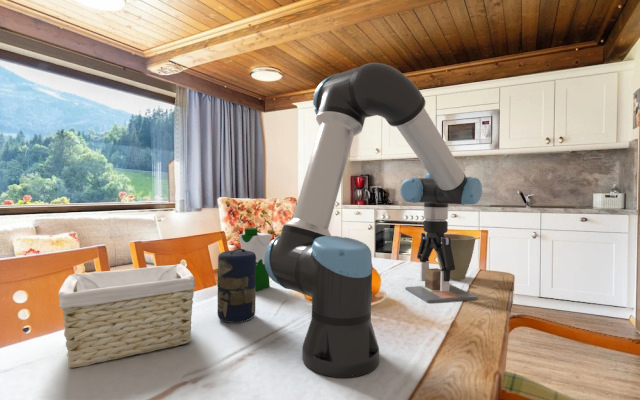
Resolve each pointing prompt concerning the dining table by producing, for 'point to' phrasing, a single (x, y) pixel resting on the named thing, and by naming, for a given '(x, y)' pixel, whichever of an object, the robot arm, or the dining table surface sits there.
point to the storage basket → (125, 312)
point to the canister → (236, 285)
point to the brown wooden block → (432, 278)
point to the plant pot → (460, 254)
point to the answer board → (440, 294)
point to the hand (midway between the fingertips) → (434, 285)
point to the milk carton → (257, 253)
